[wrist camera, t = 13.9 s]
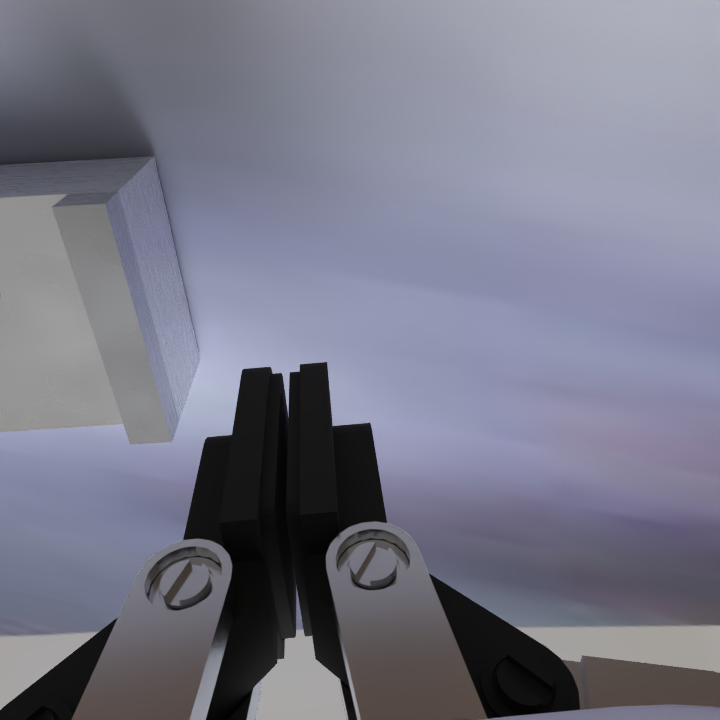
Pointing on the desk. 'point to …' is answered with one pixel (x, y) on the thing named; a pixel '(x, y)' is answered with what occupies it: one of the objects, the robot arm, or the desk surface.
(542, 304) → the desk surface
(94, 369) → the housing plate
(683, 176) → the desk surface
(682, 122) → the desk surface
